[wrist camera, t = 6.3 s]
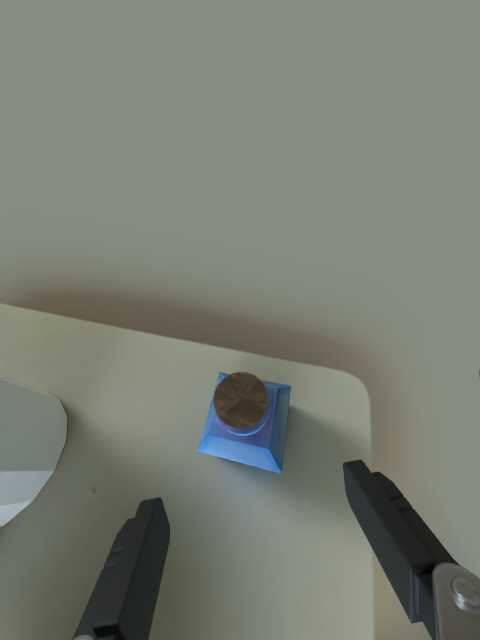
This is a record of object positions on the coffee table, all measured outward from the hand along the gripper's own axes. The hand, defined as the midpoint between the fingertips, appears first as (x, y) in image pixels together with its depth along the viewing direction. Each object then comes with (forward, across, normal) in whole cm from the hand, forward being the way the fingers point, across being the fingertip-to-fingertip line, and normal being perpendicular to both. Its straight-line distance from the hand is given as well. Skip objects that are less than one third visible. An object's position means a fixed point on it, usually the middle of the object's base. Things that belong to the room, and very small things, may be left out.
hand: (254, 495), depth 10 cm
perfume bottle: (+12, 0, +6) cm, 14 cm away
